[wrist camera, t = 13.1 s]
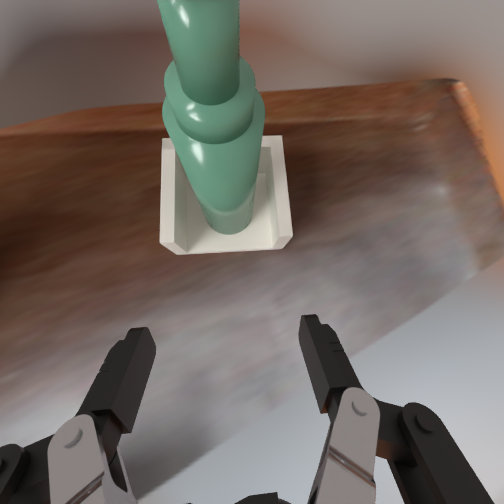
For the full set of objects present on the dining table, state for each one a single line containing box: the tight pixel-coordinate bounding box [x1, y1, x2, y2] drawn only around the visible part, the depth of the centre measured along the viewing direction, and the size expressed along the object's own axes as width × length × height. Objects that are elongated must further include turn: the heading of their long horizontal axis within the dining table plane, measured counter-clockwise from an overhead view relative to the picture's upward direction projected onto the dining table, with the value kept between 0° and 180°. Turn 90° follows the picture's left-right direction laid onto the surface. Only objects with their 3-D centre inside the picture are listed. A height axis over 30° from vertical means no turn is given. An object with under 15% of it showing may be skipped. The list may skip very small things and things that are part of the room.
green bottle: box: [157, 0, 265, 235], centre depth 14 cm, size 5×5×19 cm
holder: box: [160, 136, 293, 255], centre depth 22 cm, size 10×11×5 cm
